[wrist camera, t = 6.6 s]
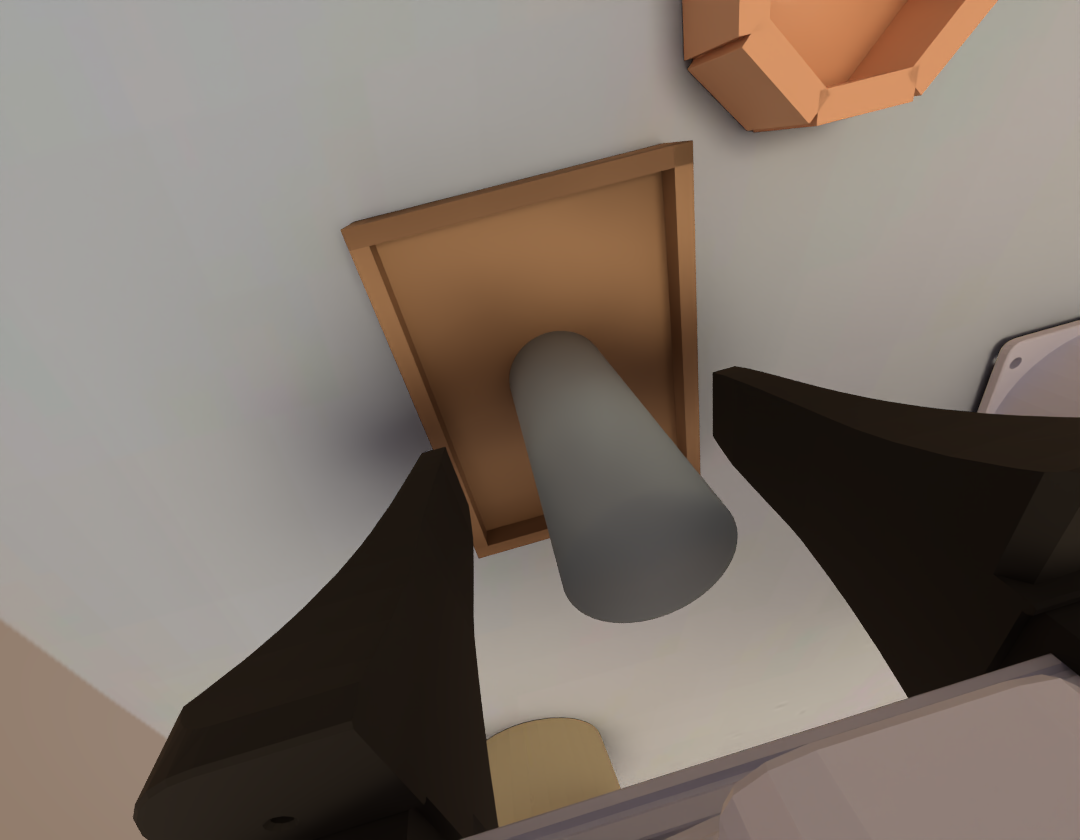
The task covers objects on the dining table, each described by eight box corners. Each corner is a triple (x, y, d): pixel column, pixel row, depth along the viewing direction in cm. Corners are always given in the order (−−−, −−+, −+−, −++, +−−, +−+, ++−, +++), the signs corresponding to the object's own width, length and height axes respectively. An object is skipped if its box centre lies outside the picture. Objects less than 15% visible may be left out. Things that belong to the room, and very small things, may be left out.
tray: (680, 467, 19) (700, 494, 17) (476, 525, 18) (478, 558, 17) (663, 143, 13) (692, 140, 11) (354, 221, 12) (340, 230, 11)
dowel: (606, 410, 16) (729, 600, 9) (517, 428, 15) (570, 639, 8) (601, 322, 14) (747, 471, 7) (501, 341, 14) (551, 514, 7)
